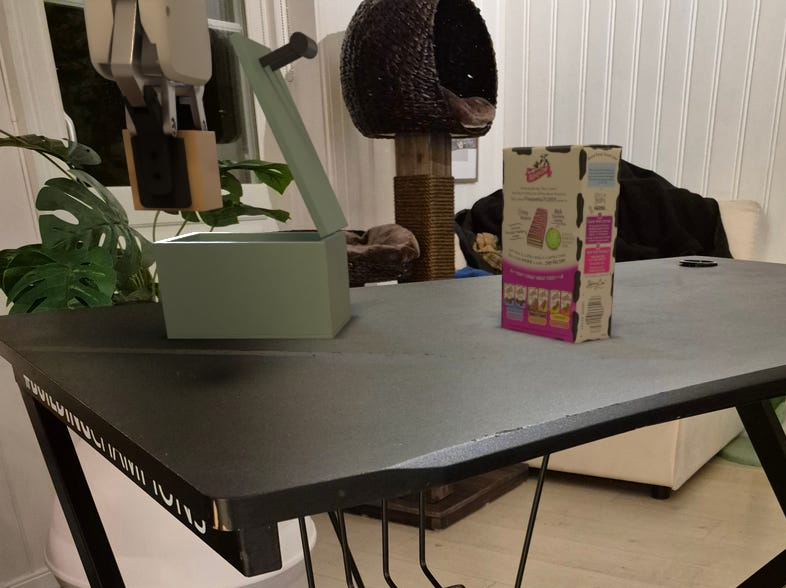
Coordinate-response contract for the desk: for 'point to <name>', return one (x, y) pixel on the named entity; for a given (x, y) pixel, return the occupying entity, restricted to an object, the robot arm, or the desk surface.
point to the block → (189, 171)
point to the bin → (253, 284)
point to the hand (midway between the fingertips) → (179, 202)
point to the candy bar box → (559, 240)
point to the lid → (291, 123)
